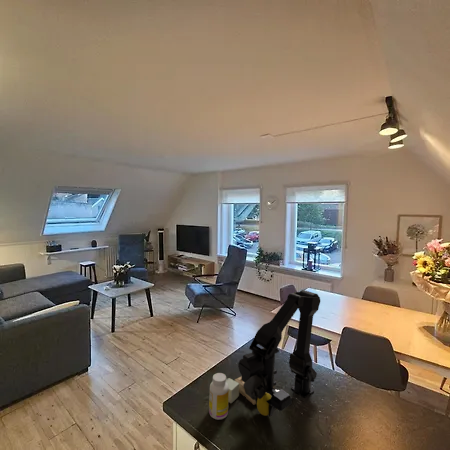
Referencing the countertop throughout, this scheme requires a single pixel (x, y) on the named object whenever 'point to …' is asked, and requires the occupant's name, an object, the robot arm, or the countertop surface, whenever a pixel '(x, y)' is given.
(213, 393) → the supplement bottle
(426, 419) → the countertop surface
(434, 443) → the countertop surface
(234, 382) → the ceramic cube
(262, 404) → the lemon
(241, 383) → the square tray
